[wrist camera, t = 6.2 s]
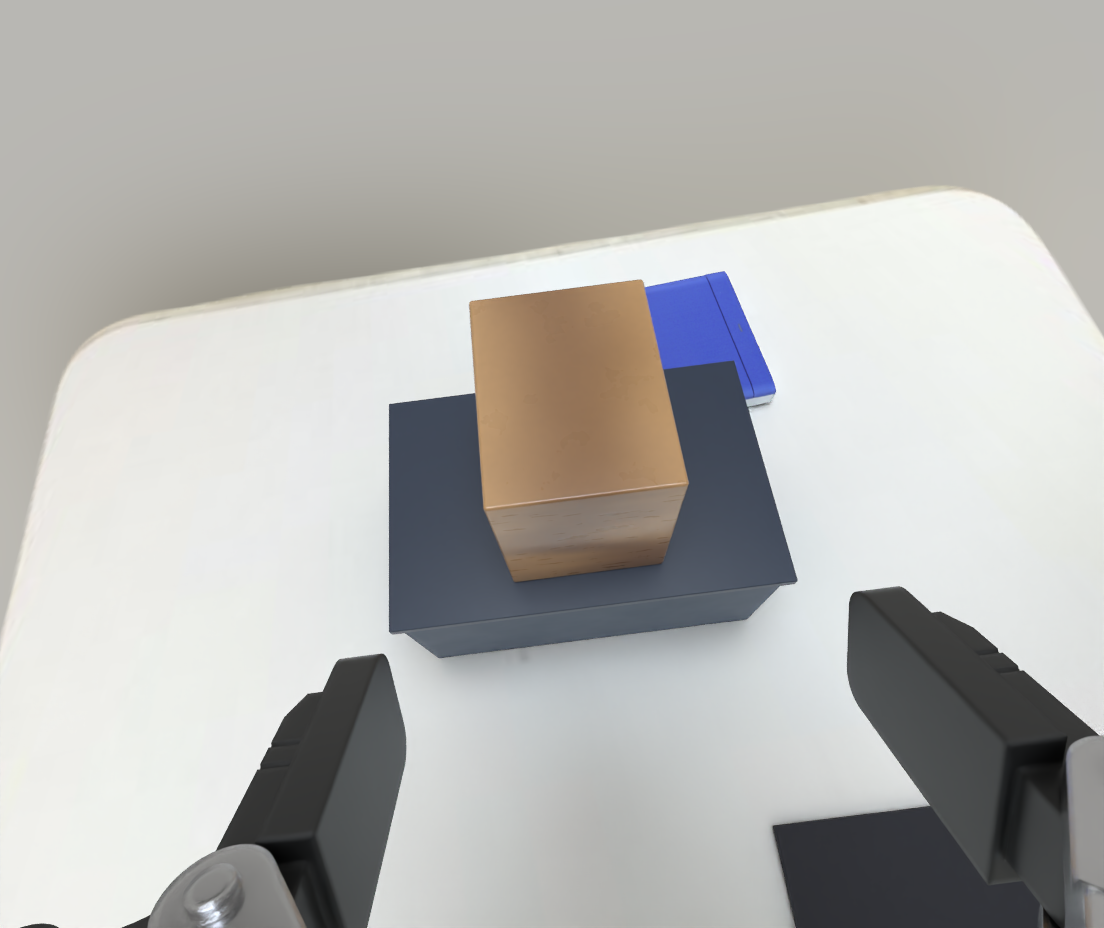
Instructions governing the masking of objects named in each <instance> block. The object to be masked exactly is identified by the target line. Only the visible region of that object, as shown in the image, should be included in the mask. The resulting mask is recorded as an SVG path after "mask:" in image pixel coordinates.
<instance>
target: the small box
mask: <svg viewBox="0 0 1104 928" xmlns="http://www.w3.org/2000/svg"><path fill="white" fill-rule="evenodd" d="M469 310H470V324H471V339H472V353H473V367H474V381H475V396H476V410H477V424H478V439H479V453H480V467H481V482H482V496H483V509H484V512H485V514H486V516H487V519H488V521H489V524H490V526H491V528H492V531H493V533H494V535H495V538H496V540H497V543H498V545H499V547H500V550H501V552H502V555H503V557H504V559H505V562H506V564H507V567H508V569H509V571H510V574H511V576H512V579H513V581H514V582H520V581H528V580H536V579H544V578H552V577H560V576H568V575H576V574H584V573H592V572H600V571H608V570H615V569H623V568H631V567H639V566H647V565H655V564H662V563H663V561H664V558H665V555H666V552H667V549H668V546H669V543H670V540H671V536H672V533H673V530H674V527H675V524H676V521H677V518H678V515H679V512H680V509H681V506H682V503H683V500H684V497H685V494H686V491H687V488H688V484H689V481H688V477H687V473H686V468H685V464H684V459H683V455H682V451H681V446H680V442H679V437H678V433H677V429H676V424H675V420H674V415H673V411H672V406H671V402H670V398H669V393H668V389H667V384H666V380H665V376H664V371H663V367H662V362H661V358H660V354H659V349H658V345H657V340H656V336H655V331H654V327H653V323H652V318H651V314H650V309H649V305H648V301H647V296H646V292H645V287H644V283H643V281H642V280H633V281H625V282H617V283H609V284H601V285H594V286H586V287H578V288H570V289H562V290H555V291H547V292H539V293H531V294H523V295H515V296H508V297H500V298H492V299H484V300H476V301H471V302H470V304H469Z"/></svg>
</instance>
